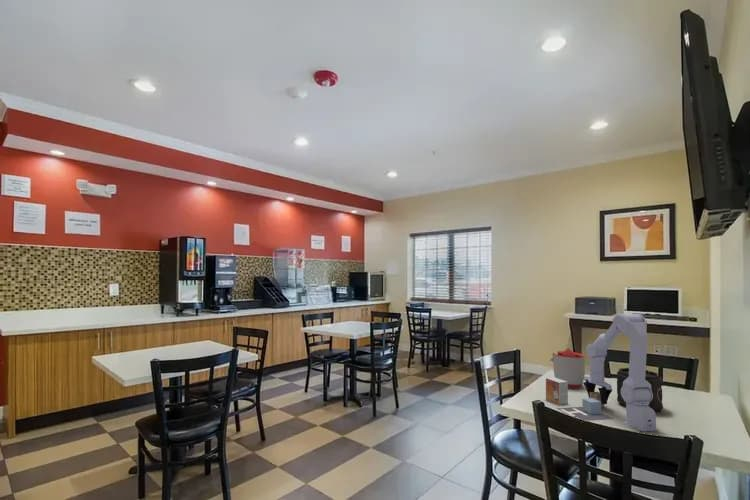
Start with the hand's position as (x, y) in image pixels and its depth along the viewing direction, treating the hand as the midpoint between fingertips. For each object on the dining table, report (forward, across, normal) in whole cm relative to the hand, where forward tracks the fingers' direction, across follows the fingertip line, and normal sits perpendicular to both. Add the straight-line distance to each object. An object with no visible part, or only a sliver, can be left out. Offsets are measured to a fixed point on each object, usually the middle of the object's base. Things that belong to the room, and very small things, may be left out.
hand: (597, 401), depth 173 cm
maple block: (+2, 0, 0) cm, 3 cm away
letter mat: (+2, +8, -14) cm, 16 cm away
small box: (+3, -8, -15) cm, 17 cm away
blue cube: (+2, +7, -9) cm, 12 cm away
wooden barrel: (+3, +3, +19) cm, 19 cm away
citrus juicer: (+3, -32, +9) cm, 33 cm away
